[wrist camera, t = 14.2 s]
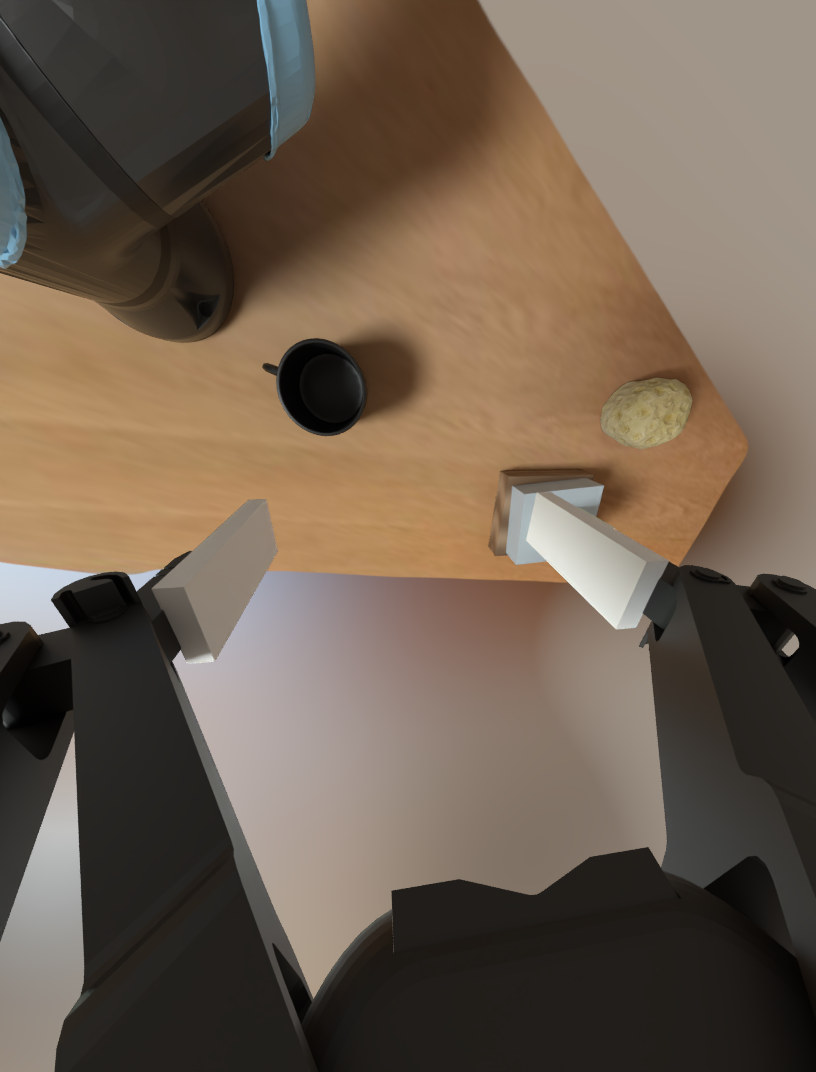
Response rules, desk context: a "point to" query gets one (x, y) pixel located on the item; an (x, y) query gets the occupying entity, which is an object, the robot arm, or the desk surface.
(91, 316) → the desk surface
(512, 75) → the desk surface
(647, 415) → the decorative item
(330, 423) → the mug
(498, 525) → the bottom slab
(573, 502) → the top slab
